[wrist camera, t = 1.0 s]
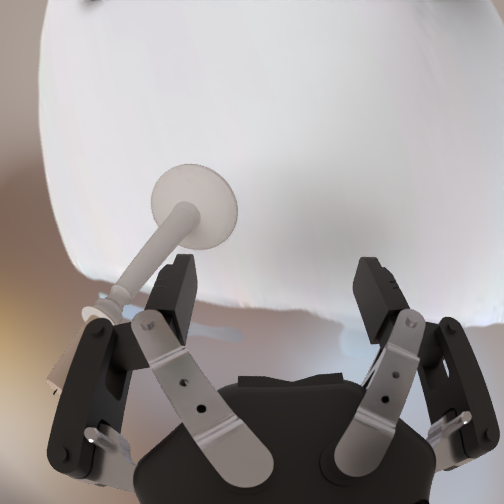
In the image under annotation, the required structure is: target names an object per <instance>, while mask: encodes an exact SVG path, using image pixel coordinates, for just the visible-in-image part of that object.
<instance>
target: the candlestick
mask: <svg viewBox="0 0 504 504" xmlns="http://www.w3.org/2000/svg"><path fill="white" fill-rule="evenodd" d="M151 209H152V214H153V217H154V220H155V222H156V224H157V226H158V227H159V228H158V229H157V230H156V231H155V233H154V234H153V235H152V236H151V238H150V239H149V240H148V241H147V243H146V244H145V245H144V247H143V248H142V249H141V250H140V252H139V253H138V254H137V256H136V257H135V258H134V259H133V261H132V262H131V263H130V265H129V266H128V267H127V269H126V270H125V271H124V273H123V274H122V276H121V277H120V278H119V280H118V281H117V282H116V284H115V285H114V286H112V288H111V294H110V295H109V296H108V297H106V298H101V299H99V300H97V301H96V303H95V305H94V307H84V308H83V309H82V317H83V319H84V321H85V324H84V325H83V326H82V328H81V329H80V331H79V332H78V333H77V335H76V336H75V337H74V339H73V340H72V342H71V343H70V344H69V346H68V347H67V349H66V350H65V351H64V353H63V354H62V356H61V357H60V359H59V360H58V362H57V363H56V365H55V366H54V368H53V369H52V371H51V372H50V374H49V376H48V377H47V379H46V382H47V383H48V385H49V386H50V387H51V388H53V389H54V390H55V391H54V393H53V394H55V392H57V393H59V394H60V395H61V393H62V389H63V386H64V383H65V380H66V377H67V374H68V371H69V368H70V365H71V363H72V360H73V357H74V354H75V352H76V349H77V347H78V344H79V341H80V339H81V336H82V334H83V331H84V329H85V327H86V326H87V324H88V323H89V322H90V321H92V320H94V319H96V318H107V319H109V320H110V321H111V323H112V324H113V325H118V324H120V323H121V321H122V311H123V307H124V306H125V305H128V304H130V303H131V301H132V299H133V297H134V296H135V295H136V294H137V293H138V291H139V290H140V289H141V288H142V286H143V285H144V284H145V283H146V282H147V280H148V279H149V278H150V277H151V276H152V274H153V273H154V272H155V271H156V270H157V269H158V267H159V266H160V265H161V264H162V263H163V262H164V260H165V259H166V258H167V257H168V256H169V255H170V253H171V252H172V251H173V250H174V249H175V248H176V247H177V246H178V245H180V246H182V247H185V248H188V249H194V250H204V249H210V248H213V247H215V246H217V245H219V244H221V243H222V242H223V241H225V240H226V239H227V238H228V236H229V235H230V234H231V232H232V230H233V228H234V226H235V224H236V220H237V202H236V199H235V196H234V193H233V191H232V189H231V187H230V186H229V184H228V183H227V182H226V181H225V180H224V179H223V178H222V177H221V176H220V175H219V174H218V173H216V172H215V171H213V170H211V169H209V168H207V167H204V166H201V165H196V164H184V165H179V166H176V167H174V168H172V169H170V170H168V171H167V172H165V173H164V174H163V175H162V176H161V177H160V178H159V179H158V181H157V182H156V184H155V186H154V188H153V191H152V196H151Z"/></svg>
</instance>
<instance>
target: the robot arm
mask: <svg viewBox="0 0 504 504" xmlns="http://www.w3.org/2000/svg"><path fill="white" fill-rule="evenodd" d="M196 293H197V275H196V268H195V261H194V256H193V254H177V255H176V258H175V260H174V263H173V265H171V264H167V265H165V266H164V267H163V268H162V269H161V270H160V272H159V274H158V276H157V279H156V281H155V284H154V287H153V289H152V291H151V294H150V296H149V299H148V302H147V304H146V307H145V309H144V311H141V312H139V313H138V314H136V315H135V316H134V318H133V319H132V322H129V323H124V324H118V325H113V324H112V323H111V321H110V320H109V319H107V318H96V319H94V320H92V321H90V322H89V323H88V324H87V326H86V327H85V329H84V331H83V334H82V336H81V339H80V341H79V344H78V347H77V349H76V352H75V354H74V357H73V360H72V363H71V365H70V368H69V371H68V374H67V377H66V380H65V383H64V386H63V389H62V393H61V396H60V399H59V403H58V406H57V410H56V414H55V417H54V421H53V425H52V429H51V433H50V438H49V442H48V447H47V458H48V460H49V462H50V464H51V466H52V467H53V468H54V469H55V470H57V471H58V472H60V473H63V474H65V475H68V476H70V477H71V478H73V479H76V480H79V481H82V482H85V483H88V484H94V485H97V486H102V487H104V486H110V487H114V488H117V489H122V490H125V491H129V492H134V493H136V495H137V497H138V499H139V502H140V504H429V495H430V489H431V484H432V480H433V477H434V474H435V473H436V472H438V471H441V470H444V471H450V470H453V469H454V468H457V467H459V466H461V465H464V464H466V463H468V462H470V461H472V460H474V459H476V458H478V457H480V456H482V455H484V454H486V453H487V452H489V451H491V450H492V449H494V448H495V447H496V446H497V444H498V442H499V438H500V431H499V426H498V422H497V419H496V415H495V412H494V408H493V405H492V401H491V398H490V395H489V392H488V389H487V387H486V383H485V381H484V378H483V375H482V372H481V370H480V367H479V365H478V362H477V360H476V357H475V355H474V353H473V350H472V348H471V345H470V343H469V341H468V339H467V337H466V334H465V332H464V330H463V328H462V326H461V324H460V323H459V322H458V321H457V320H455V319H454V318H451V317H444V318H443V319H442V320H441V321H440V323H439V324H435V323H430V322H425V320H424V318H423V316H422V315H421V314H420V313H419V312H417V311H415V310H413V309H410V307H409V305H408V303H407V301H406V299H405V297H404V295H403V293H402V292H401V290H400V289H399V286H398V284H397V283H396V280H395V278H394V276H393V275H392V273H391V272H390V271H389V270H387V269H386V268H385V267H382V266H381V265H380V263H379V261H378V259H377V258H376V257H361V258H360V260H359V264H358V267H357V271H356V274H355V277H354V281H353V293H354V296H355V299H356V301H357V304H358V307H359V310H360V313H361V316H362V319H363V322H364V325H365V328H366V331H367V334H368V337H369V340H370V343H371V344H380V349H379V351H378V353H377V355H376V357H375V359H374V361H373V363H372V365H371V367H370V369H369V371H368V373H367V375H366V377H365V379H364V381H363V382H362V384H361V385H359V384H357V383H354V382H351V381H348V380H343V375H342V373H334V374H333V373H332V374H319V375H315V376H312V377H308V378H305V379H301V380H298V381H294V382H290V381H284V380H279V379H274V378H270V377H265V376H238V383H235V384H231V385H228V386H225V387H223V388H221V389H219V390H217V391H216V389H215V388H214V387H213V385H212V384H211V383H210V381H209V380H208V378H207V377H206V376H205V375H204V373H203V372H202V370H201V369H200V367H199V366H198V364H197V363H196V362H195V360H194V359H193V357H192V356H191V354H190V353H189V352H188V350H187V349H186V348H183V347H182V346H185V344H186V339H187V334H188V329H189V325H190V320H191V316H192V310H193V307H194V302H195V298H196ZM444 359H445V361H446V364H447V367H448V370H449V378H448V376H447V373H446V370H445V367H444V364H443V360H444ZM149 367H151V369H152V371H153V373H154V375H155V377H156V378H157V380H158V382H159V384H160V386H161V388H162V389H163V391H164V393H165V395H166V396H167V398H168V400H169V401H170V403H171V404H172V406H173V408H174V409H175V411H176V413H177V414H178V416H179V418H180V419H181V421H182V423H181V424H180V425H179V426H178V427H176V428H175V430H173V431H172V432H171V433H170V434H169V435H168V436H167V437H166V438H164V439H163V440H162V441H161V442H160V443H159V444H158V445H156V446H155V447H154V448H153V449H152V450H151V451H150V452H148V453H147V454H146V455H145V456H144V457H143V458H142V459H141V460H140V461H139V462H138V464H137V465H136V464H135V463H134V462H133V460H132V458H131V453H130V445H129V443H128V441H127V440H126V439H125V438H124V437H123V436H122V435H121V434H120V433H121V427H122V421H123V415H124V410H125V405H126V400H127V395H128V389H129V385H130V380H131V375H132V371H133V370H137V369H143V368H149ZM416 371H418V374H419V378H420V381H421V385H422V388H423V392H424V396H425V400H426V404H427V408H428V413H429V417H430V422H431V427H430V429H429V431H428V437H427V438H426V440H425V439H424V438H423V437H421V436H420V435H419V434H418V433H417V432H416V431H414V430H413V429H412V428H411V427H410V426H409V425H407V424H406V423H405V422H404V421H403V420H401V419H400V418H399V416H400V414H401V411H402V409H403V407H404V404H405V402H406V399H407V396H408V394H409V391H410V388H411V386H412V382H413V380H414V377H415V374H416Z"/></svg>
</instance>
